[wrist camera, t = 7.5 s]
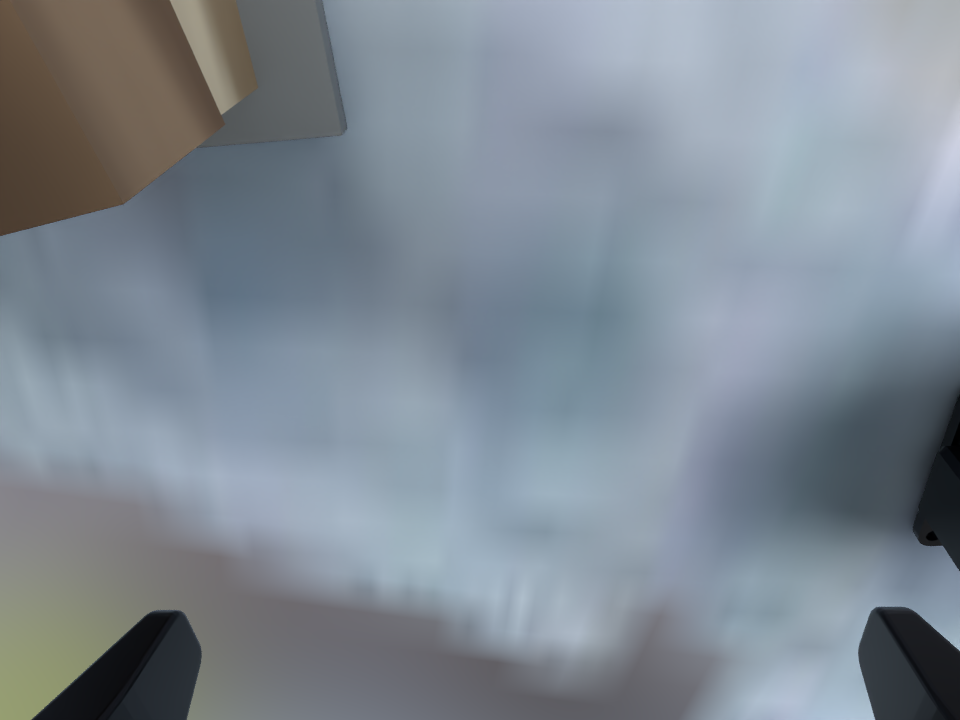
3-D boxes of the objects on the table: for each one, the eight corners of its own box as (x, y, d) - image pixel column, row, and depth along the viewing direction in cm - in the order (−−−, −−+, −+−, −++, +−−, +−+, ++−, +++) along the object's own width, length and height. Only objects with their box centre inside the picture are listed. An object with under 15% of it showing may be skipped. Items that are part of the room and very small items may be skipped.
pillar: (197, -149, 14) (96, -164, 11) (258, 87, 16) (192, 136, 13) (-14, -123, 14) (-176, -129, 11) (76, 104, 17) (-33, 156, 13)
